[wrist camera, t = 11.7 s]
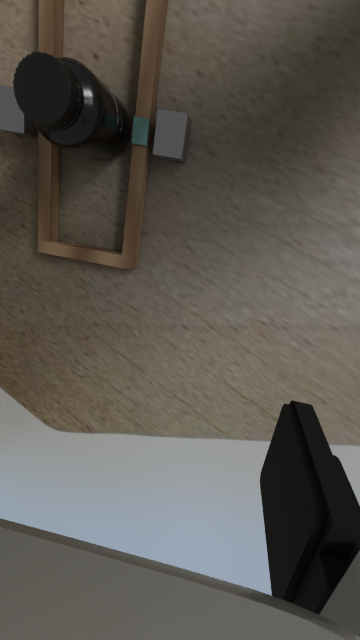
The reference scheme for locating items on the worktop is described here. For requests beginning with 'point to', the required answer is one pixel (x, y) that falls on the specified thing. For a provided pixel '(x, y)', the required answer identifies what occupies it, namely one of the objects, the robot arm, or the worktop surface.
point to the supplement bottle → (71, 106)
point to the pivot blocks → (169, 131)
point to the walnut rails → (141, 139)
